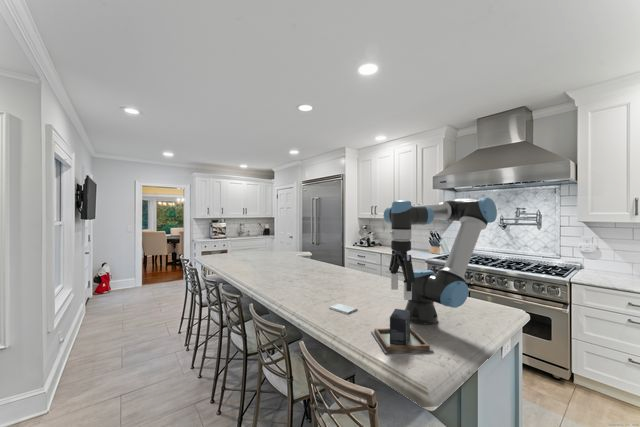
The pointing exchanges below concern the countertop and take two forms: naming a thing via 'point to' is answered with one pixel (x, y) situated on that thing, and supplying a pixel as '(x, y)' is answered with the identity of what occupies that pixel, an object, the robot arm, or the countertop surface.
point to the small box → (400, 327)
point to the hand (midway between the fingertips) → (400, 294)
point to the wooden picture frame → (413, 346)
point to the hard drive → (343, 308)
